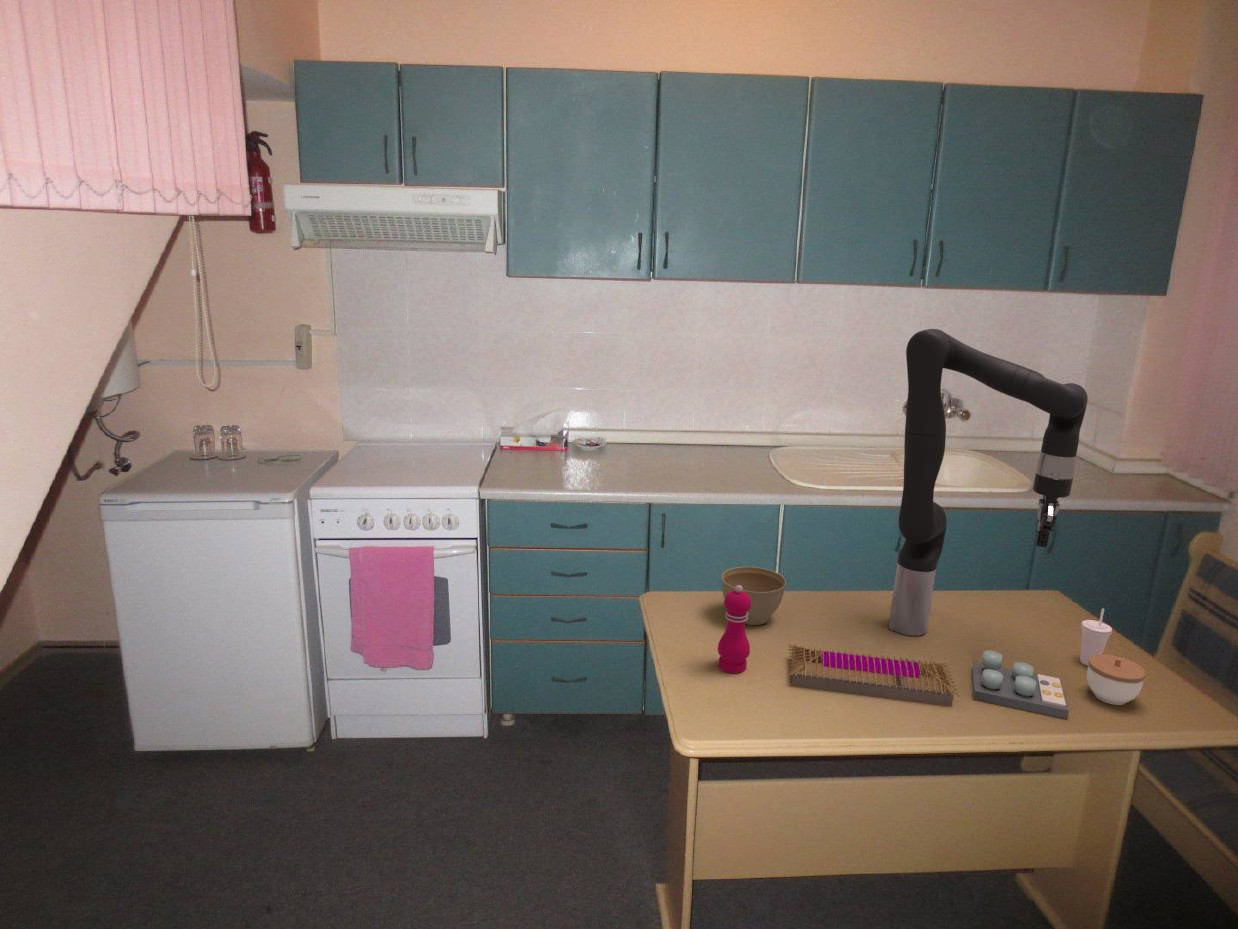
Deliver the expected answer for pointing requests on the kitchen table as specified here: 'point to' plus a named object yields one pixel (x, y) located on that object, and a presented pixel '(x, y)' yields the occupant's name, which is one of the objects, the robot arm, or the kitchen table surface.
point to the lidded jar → (1114, 678)
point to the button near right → (1025, 686)
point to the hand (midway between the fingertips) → (1041, 545)
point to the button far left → (991, 660)
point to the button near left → (992, 679)
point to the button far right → (1022, 670)
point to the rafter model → (875, 667)
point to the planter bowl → (756, 590)
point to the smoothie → (1093, 638)
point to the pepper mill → (735, 632)
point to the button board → (1043, 701)
